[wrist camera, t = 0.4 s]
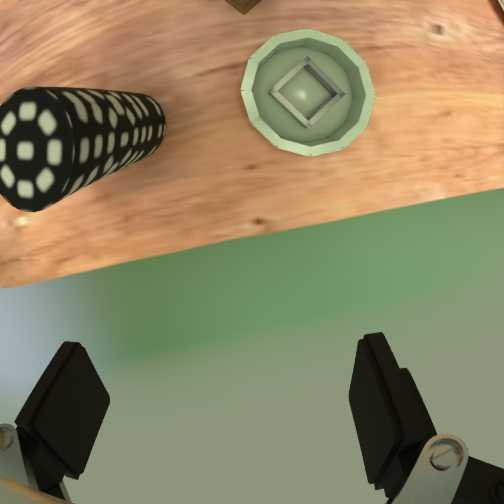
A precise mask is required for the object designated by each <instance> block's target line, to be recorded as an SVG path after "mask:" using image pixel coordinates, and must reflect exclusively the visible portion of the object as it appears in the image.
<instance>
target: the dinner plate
mask: <svg viewBox="0 0 504 504" xmlns="http://www.w3.org/2000/svg"><path fill="white" fill-rule="evenodd" d="M498 2H499V3H500V5H501V7H502V9H503V10H504V0H498Z"/></svg>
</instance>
